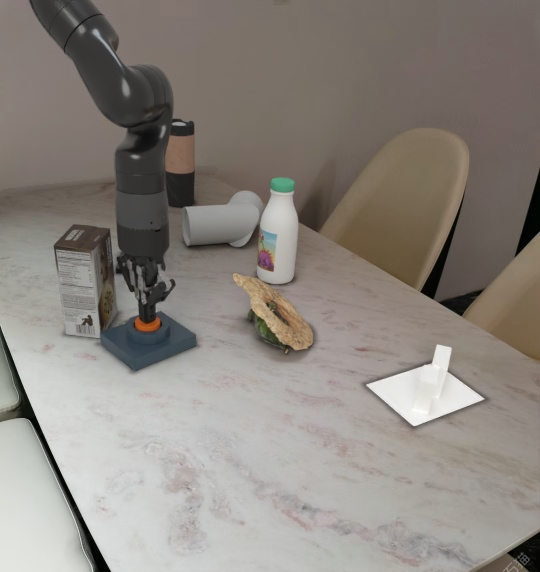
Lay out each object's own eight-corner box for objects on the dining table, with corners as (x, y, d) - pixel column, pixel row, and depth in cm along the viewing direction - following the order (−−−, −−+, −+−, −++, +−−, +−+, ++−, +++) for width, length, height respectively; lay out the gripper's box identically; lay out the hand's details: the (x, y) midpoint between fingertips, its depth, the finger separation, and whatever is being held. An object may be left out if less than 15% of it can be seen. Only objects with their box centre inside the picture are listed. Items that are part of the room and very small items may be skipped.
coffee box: (83, 308, 107) (73, 222, 98) (118, 312, 106) (111, 226, 97) (64, 335, 99) (51, 244, 90) (102, 339, 99) (92, 248, 90)
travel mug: (170, 208, 151) (167, 126, 140) (161, 198, 157) (159, 118, 146) (198, 206, 154) (199, 125, 143) (189, 196, 160) (189, 117, 148)
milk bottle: (289, 268, 127) (298, 174, 116) (297, 285, 121) (307, 187, 109) (253, 268, 125) (259, 173, 114) (259, 285, 119) (266, 186, 108)
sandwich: (315, 366, 108) (339, 337, 104) (261, 379, 97) (285, 348, 93) (260, 297, 115) (280, 267, 110) (204, 302, 104) (224, 269, 100)
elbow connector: (255, 255, 128) (271, 222, 144) (247, 207, 122) (264, 179, 139) (178, 260, 132) (202, 228, 148) (166, 214, 127) (193, 186, 143)
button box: (134, 371, 92) (133, 349, 90) (100, 343, 98) (98, 322, 96) (196, 345, 99) (196, 325, 97) (161, 321, 105) (160, 301, 103)
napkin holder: (433, 361, 100) (441, 332, 97) (485, 398, 93) (496, 368, 89) (364, 385, 93) (370, 354, 90) (414, 427, 86) (423, 395, 82)
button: (144, 339, 95) (144, 329, 94) (130, 328, 97) (129, 319, 96) (165, 331, 97) (165, 322, 96) (151, 321, 99) (150, 312, 98)
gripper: (95, 208, 88) (105, 311, 97) (146, 238, 80) (151, 346, 90) (138, 199, 92) (144, 298, 102) (191, 226, 85) (191, 330, 94)
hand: (147, 320), depth 96 cm, fingers closed
